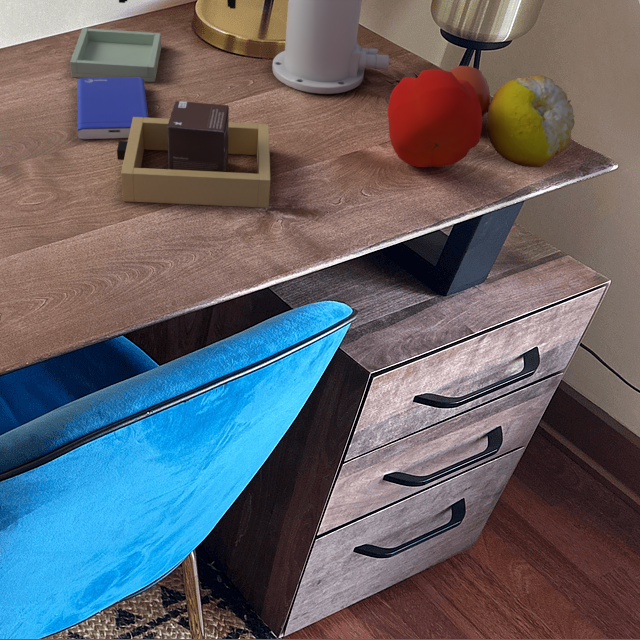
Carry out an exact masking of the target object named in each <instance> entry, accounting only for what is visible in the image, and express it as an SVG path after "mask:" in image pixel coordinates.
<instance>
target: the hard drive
mask: <svg viewBox="0 0 640 640" xmlns="http://www.w3.org/2000/svg"><path fill="white" fill-rule="evenodd" d="M76 81H77V84H76V85H77V86H76V87H77V89H76V90H77V91H76V92H77V93H76V95H77V96H76V97H77V135H78V139H81V140H102V139H105V140H106V139H128V138H129V133H130V129H131V124H132V119H133V117H143V118H149V110H148V103H147V96H146V95H147V94H146V87H145V81H144V79H142V78H77V80H76Z"/></svg>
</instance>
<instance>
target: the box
mask: <svg viewBox="0 0 640 640" xmlns="http://www.w3.org/2000/svg"><path fill="white" fill-rule="evenodd" d="M229 110H230V105H228V104H219V103H206V102H204V103H203V102H195V101H181V100H179V101H174V102H173V107H172V109H171V112H170V117H169V119H170V120H169V123H168V126H167V132H168V151H167V163H168V164H167V165H168V169H171V170H191V171H212V172H228V165H229V154H228V122H230V120H229V119H230V118H229V117H230V116H229V113H230V112H229Z"/></svg>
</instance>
